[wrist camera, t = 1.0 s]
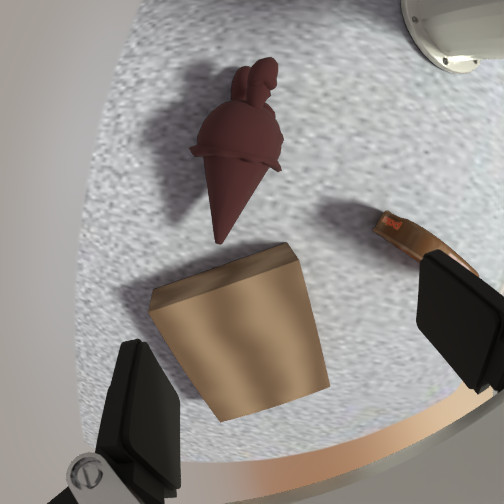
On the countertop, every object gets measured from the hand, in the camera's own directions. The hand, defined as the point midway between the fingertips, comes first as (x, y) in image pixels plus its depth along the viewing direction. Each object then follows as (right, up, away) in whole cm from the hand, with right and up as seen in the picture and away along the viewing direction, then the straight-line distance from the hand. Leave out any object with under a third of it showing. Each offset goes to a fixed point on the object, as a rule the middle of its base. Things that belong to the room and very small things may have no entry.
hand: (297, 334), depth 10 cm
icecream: (-3, +12, +17) cm, 21 cm away
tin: (+17, +4, +24) cm, 29 cm away
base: (-2, -6, +25) cm, 26 cm away
